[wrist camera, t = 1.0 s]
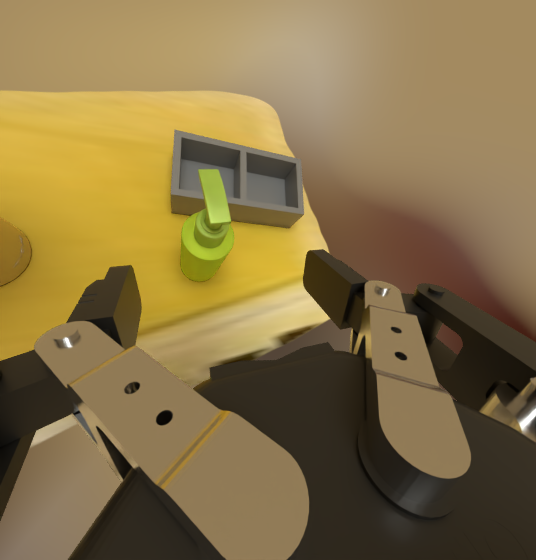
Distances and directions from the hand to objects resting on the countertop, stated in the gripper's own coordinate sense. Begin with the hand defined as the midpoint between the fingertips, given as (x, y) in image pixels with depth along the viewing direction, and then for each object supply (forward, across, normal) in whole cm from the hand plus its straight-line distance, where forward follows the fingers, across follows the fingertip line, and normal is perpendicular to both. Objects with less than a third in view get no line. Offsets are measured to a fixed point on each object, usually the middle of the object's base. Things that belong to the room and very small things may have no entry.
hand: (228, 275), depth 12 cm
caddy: (+36, -8, +3) cm, 37 cm away
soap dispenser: (+28, 0, +12) cm, 30 cm away
